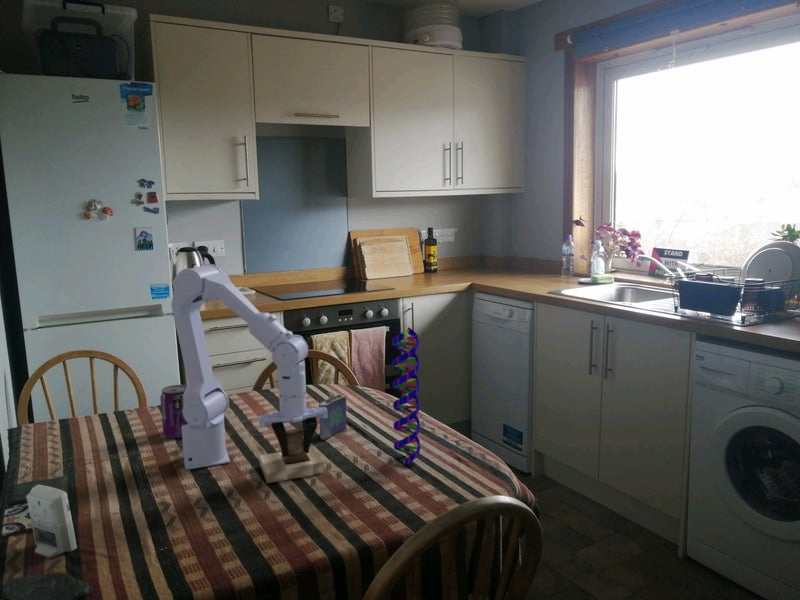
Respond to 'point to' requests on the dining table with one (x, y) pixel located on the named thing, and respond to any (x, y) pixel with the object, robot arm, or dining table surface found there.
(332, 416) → the flask
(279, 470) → the board
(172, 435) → the beverage can
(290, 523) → the dining table surface
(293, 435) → the peg
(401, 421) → the dna model
